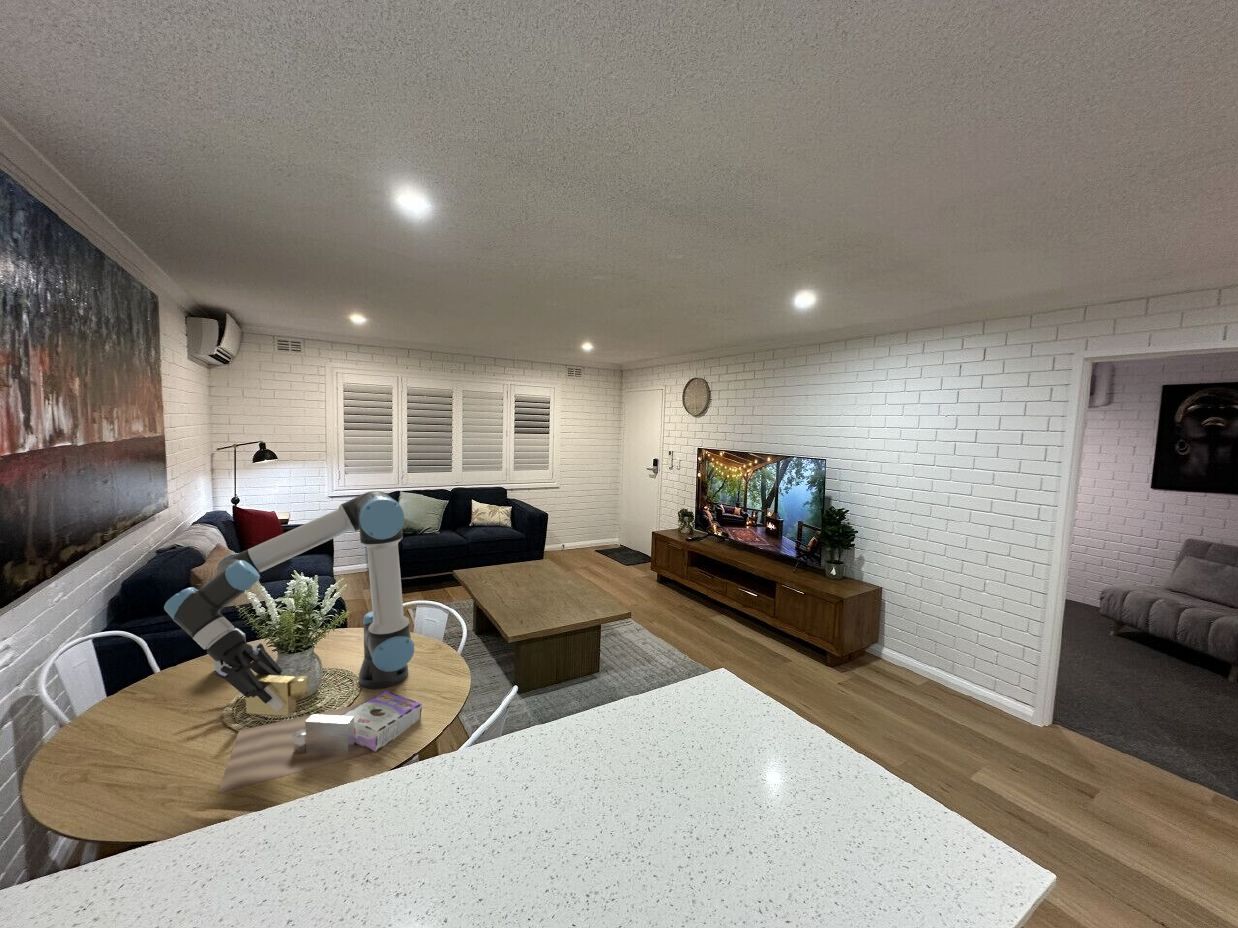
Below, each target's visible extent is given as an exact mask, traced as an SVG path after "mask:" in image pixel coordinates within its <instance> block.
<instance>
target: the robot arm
mask: <svg viewBox="0 0 1238 928" xmlns="http://www.w3.org/2000/svg"><path fill="white" fill-rule="evenodd" d="M404 522H405V513H404V509H403V508H402V506H401V505H400V502H398V501H397V500H396V499H394V498H393V497H391V496H390V494H388V493H386V492H385V491H384V492H383V491H379V490H371V491H367V492H365V493H363V494H360V495H358V496H355V497H354V498H352V499H350V500H348V501H345V502H343V503H341V504H339V506H338V508H337V509H336V510H334V511H331V512H329V513H326V514H325V515H322V516H320V517H318V518H315V519H313V520H310V521H309V522H306V523H304V524H301V525H299V526H298V527H296V528H293V529H291V530H288V531H287V532H284V533H282V534H280V535H277V536H276V537H273V538H271V539H268V540H266V541H263V542H262V543H259V544H257V545H254V546H253V547H251V548H248V549H246V550H243V551H241V552H238V553H237V552H235V553H230V554H228V555H226V556H225V557H223V558H222V560H220V561H219V563H218V565H217V568H216V572H215V575H214V578H212V579H210V581H208V582H207V583H206V584H204V585H203V586H201V587H200V588H198V589H196V587H193V586H192V587H191V586H190V587H187V588H185V589H182V590H181V591H179V592H178V593H175V594H174V595H173V596H171V597H170V598H169V599H167V601H166V602H165V604H164V606H163V609H164V611H165V612H166V613H167V614H168V616H169V617H170V618H171V619H172V621H173V622H174V623H176V624H177V625H178V626H179V627H180V628H181V629H182V630H184V631H185V632H186V633H187V635H189V636H190V637H191V638H192V640H194V641H195V642H196V643H197V644H198V645H199V646H200V647H201V648H202V649H203V650H206V653H207V655H208V656H209V657H211V658H212V659H213V661H214V660H215V661H220V663H221V666H222V667H221V669H220V670H219V671H218V672H216V674H215V675H216V676H217V677H219V678H221V679H224V680H225V681H226V682H227V683H228V684H230V685H231V686H232V687H233V688H234V689H236V690H237V691H238V692H239V693H241V695H243V696H244V697H245V698H246V697H247V698H249V697H250V696H251V697H255V696H258V697H259V698H260V699H261V700H262V701H263V702H264V703H267V704H268V705H269V706H270V707H271V708H273V709H274V710H275V711H276V712H278V711H279V710H280V709H281V708H282V707H283V706H284V705H285V703H284V702H283V701H282V700H281V699H280V698H279V697H278V696H277V695H276V694H275V693H274V692H273V691H272V690H271V689H270V688H269V687H268V686H267V687H266V688H265V689H264V687H263V685H262V684H261V683H260V681H259V680H258V679H257V677H256V676H255V675H254V674H260V675H277V676H282V673H283V669H282V668H281V667H280V666H279V664H278V663H277V662H276V661H275V660H274V659H273V658H272V656H271V655H270V654H269V653H268V651H267V650H266V649H265V646H264V644H263V643H259V644H258V645H256V646H252V645H250V644H248V643H247V641H246V642H245V639H246V636H245V637H244V636H243V635H242V634H241V633H240V632H239V631H238V630H233V629H235V626H234V625H233V624H232V623H231V621H229V620H228V619H227V618H226V617H225V615H223V614H222V612H220V611H222V610H223V609H225V608H226V607H227V606H228V605H230V604H231V603H232V602H233V601H235V600H236V599H237V598H238V597H240V596H242V595H243V594H244V593H245V592H246V591H248V590H250V589H251V588H252V587H253V586H254V585H255V584H256V583H258V581H259V580H260V579H261V575H260V573H262V572H264V571H267V570H268V569H270V568H272V567H275V566H277V565H279V564H281V563H284V562H286V561H288V560H290V559H292V558H294V557H296V556H298V555H301V554H303V553H305V552H307V551H309V550H311V549H313V548H315V547H318V546H320V545H322V544H324V543H326V542H328V541H331V540H333V539H335V538H336V537H339V536H341V535H344V534H346V533H348V532H353V533H355V532H357V531H359V537H360V538H359V540H360V544H361V545H363V546H364V547H365V548H366V554H367V565H368V576H369V587H370V588H369V589H370V599H371V609H372V610H371V611H369V612H367V613H365V615H364V616H363V622H362V625H363V652H364V653H363V660H362V662H361V663H362V664H361V666H360V669H359V673H358V683H359V685H360V686H361V687H363V688H365V689H366V688H367V689H371V690H375V689H383V688H384V689H385V688H389V687H391V686H395V685H397V684H399V683H401V682H403V681H404V680H405V679H406V678H407V676H408V675H409V665H408V664H409V662H410V661H412V659H413V657H414V654H415V643H414V641H413V640H412V636H411V627H410V626H411V624H410V619H409V617H407V616H405V615H404V601H403V593H402V592H403V590H402V589H403V588H402V580H401V579H402V578H401V566H400V554H399V553H400V552H399V543H400V542H401V540H402V539H403V537H404V534H403V526H404ZM245 590H246V591H245ZM254 672H255V673H254Z"/></svg>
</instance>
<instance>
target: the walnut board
mask: <svg viewBox="0 0 1238 928" xmlns="http://www.w3.org/2000/svg"><path fill="white" fill-rule="evenodd" d="M362 704H363V703H359V704H354V705H351V706H345V707H344V706H343V707H340V708H336V709H331V710H328V711H322V712H317V713H315V714H316V715H334V716H342V715H344V714H345V713H347V712H349V711H351V710H352V709H354V708H356V707H358V706H360V705H362ZM311 715H312V714H309V715H304V716H299V717H295V718H290V719H285V720H282V721H277V722H272V723H268V724H263V725H257V726H254V727H249V728H244V729H240V730H238V733H237V735H236V739H235V741H234V745H233V747H232V751H231V754H230V757H229V760H228V763H227V766H226V768H225V771H224V775H223V777H222V780H221V783H220V787H219V790H218V792H217V794H222V793H225V792H229V791H233V790H237V789H241V788H244V787H248V786H252V785H255V784H261V783H263V782H268V781H271V780H274V779H278V778H283V777H286V776H290V775H293V774H294V775H295V774H298V773H301V772H305V771H309V770H313V769H317V768H320V767H324V766H328V765H332V764H336V763H339V762H342V761H347V760H351V759H355V758H359V757H362V756H366V755H370V754H373V750H371V749H368V748H366V747H364V746H361V745H359V744H356V743H354V746H355V748H354V750H353V751H352V752H351V753H350V755H349V756H335V755H318V754H306V753H304V754H301V755H296V754H294V748H293V735H294V734H295V733H296V732H297V731H299V730H302V729H306V728H305V721H306V720H307V719H308V718H309V717H310V716H311Z"/></svg>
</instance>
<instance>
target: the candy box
mask: <svg viewBox="0 0 1238 928" xmlns="http://www.w3.org/2000/svg"><path fill="white" fill-rule="evenodd" d="M361 704H362V705H360V706H358V707H356V708H354V709H352V710H351V711H349V712H347V713H345V714H344V715H342V716H352V717H354V743H356V744H359V745H361V746H364V747H366V748H368V749H371V750H372V752H373V751H374V752H377V751H379V750H380V749H382V748H383V747H384V746H386V745H388V744H389V743H390V742H392V741H393V740H394V739H396V738H398V736H400V735H401V734H403V732H405V731H406V730H408V729H409V728H410V727H411V726H413V725H414V724H415V723H417V722H418V721H419V720H420V719H421V717H422V709H423V704H422V703H420V702H419V701H414V700H413V699H409V698H407V697H405V696H402V695H398V694H396V693H393V692H390V691H388V690H385V691H383V692H381V693H379V694H378V695H376V696H374V697H372V698H371V699H368V700H367V701H365V702H363V703H361Z"/></svg>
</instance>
